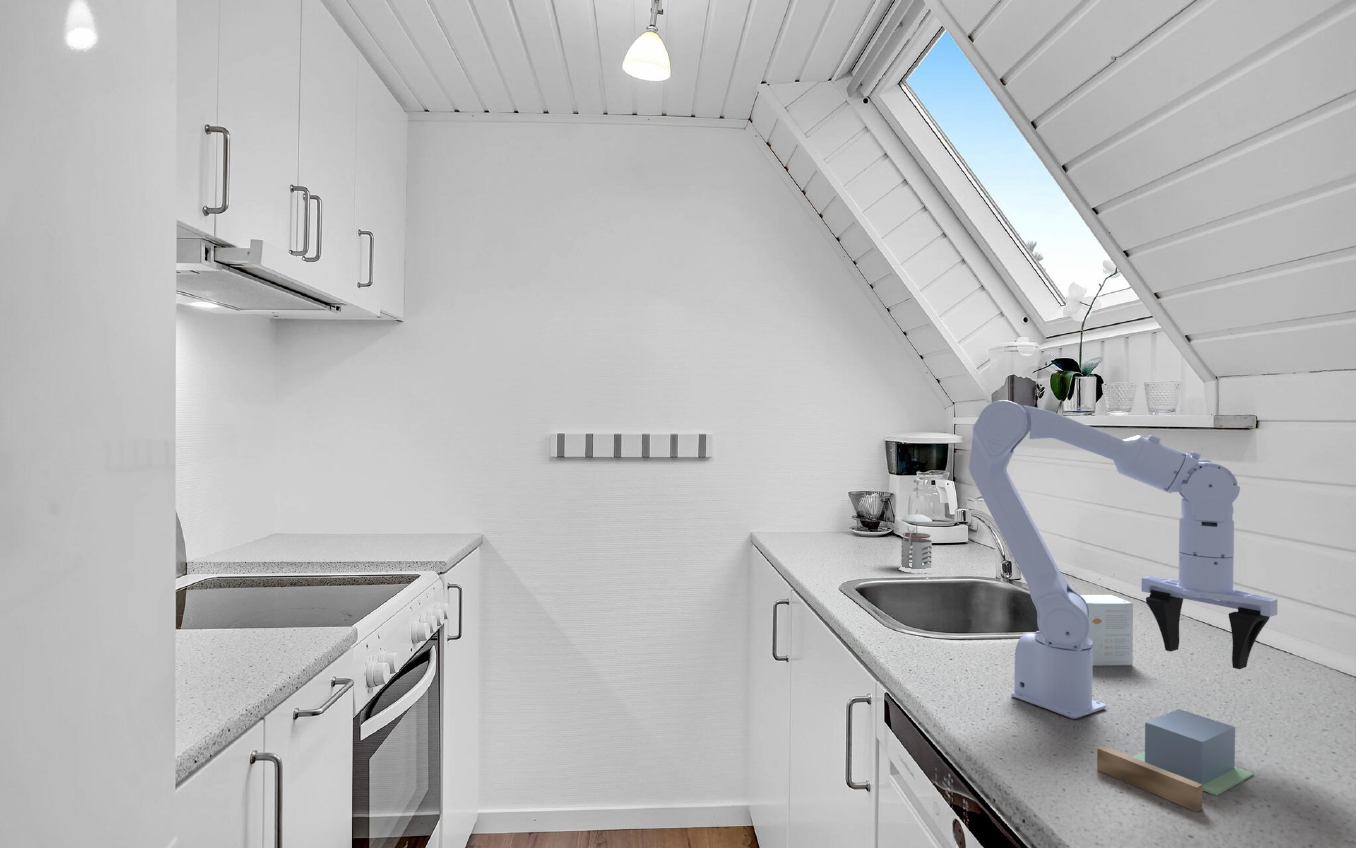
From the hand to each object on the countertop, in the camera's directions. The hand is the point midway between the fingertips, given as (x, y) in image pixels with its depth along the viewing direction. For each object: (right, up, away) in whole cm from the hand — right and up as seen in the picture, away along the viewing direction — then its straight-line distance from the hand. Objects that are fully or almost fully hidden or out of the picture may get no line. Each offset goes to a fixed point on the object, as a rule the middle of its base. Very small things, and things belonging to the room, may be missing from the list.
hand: (1204, 658), depth 91 cm
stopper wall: (-17, -9, -15) cm, 25 cm away
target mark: (-9, -9, -10) cm, 17 cm away
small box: (+3, -10, +27) cm, 29 cm away
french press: (-5, -9, +98) cm, 99 cm away
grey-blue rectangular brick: (-9, -9, -10) cm, 17 cm away
